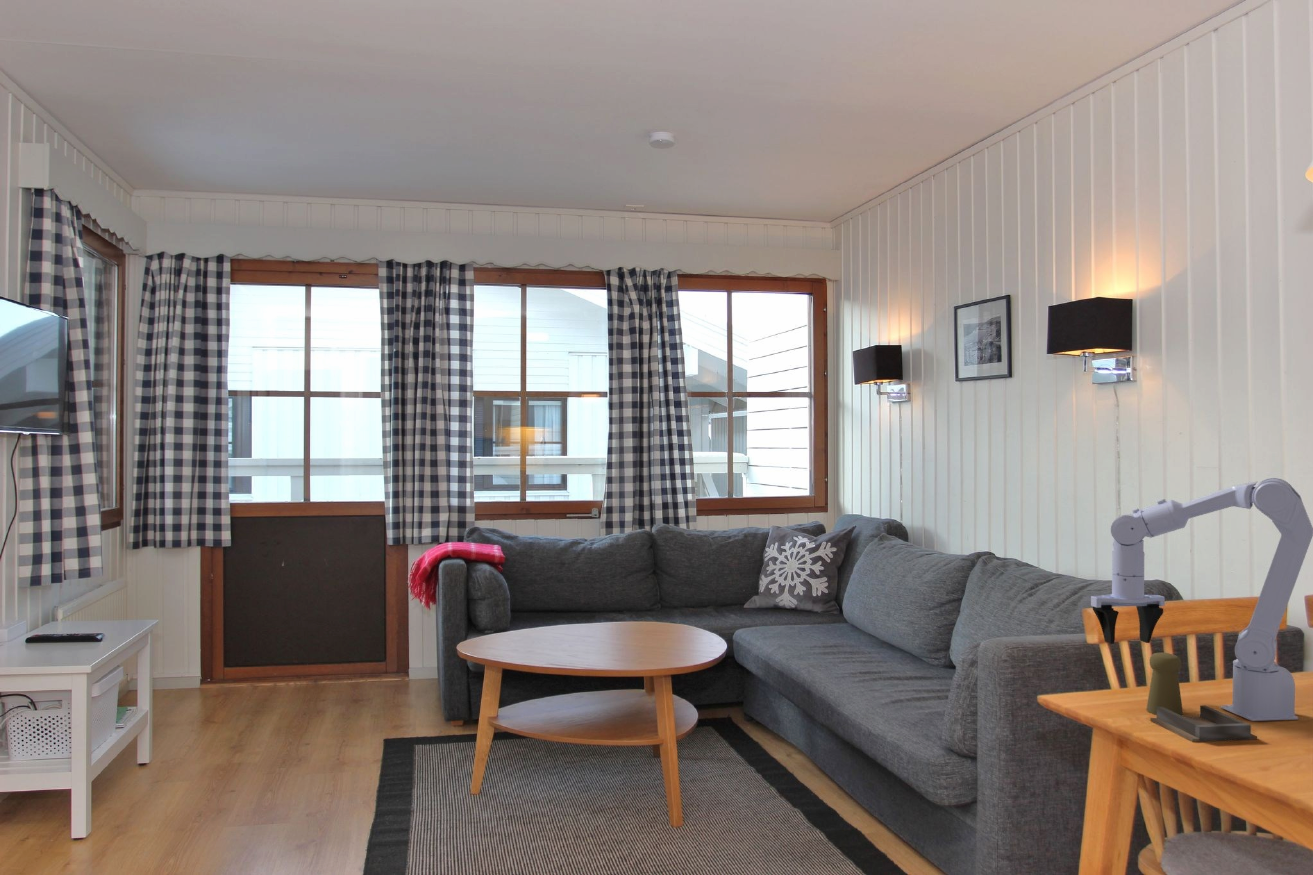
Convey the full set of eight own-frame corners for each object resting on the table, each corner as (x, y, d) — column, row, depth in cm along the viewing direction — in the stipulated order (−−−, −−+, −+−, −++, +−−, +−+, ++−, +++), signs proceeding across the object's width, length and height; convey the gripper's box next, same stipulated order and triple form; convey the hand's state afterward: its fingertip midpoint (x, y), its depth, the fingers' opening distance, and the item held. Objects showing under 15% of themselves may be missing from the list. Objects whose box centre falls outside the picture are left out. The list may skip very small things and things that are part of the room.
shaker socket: (1211, 718, 167) (1211, 705, 167) (1257, 739, 156) (1257, 724, 156) (1150, 720, 166) (1150, 707, 166) (1192, 741, 155) (1192, 727, 155)
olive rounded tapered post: (1188, 718, 168) (1189, 658, 167) (1152, 715, 169) (1153, 656, 169) (1176, 708, 174) (1177, 650, 173) (1141, 706, 175) (1142, 648, 175)
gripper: (1148, 570, 187) (1148, 636, 187) (1082, 571, 185) (1081, 638, 186) (1172, 576, 180) (1171, 645, 180) (1103, 577, 178) (1102, 646, 179)
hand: (1127, 642), depth 182 cm, fingers open, 7 cm apart
